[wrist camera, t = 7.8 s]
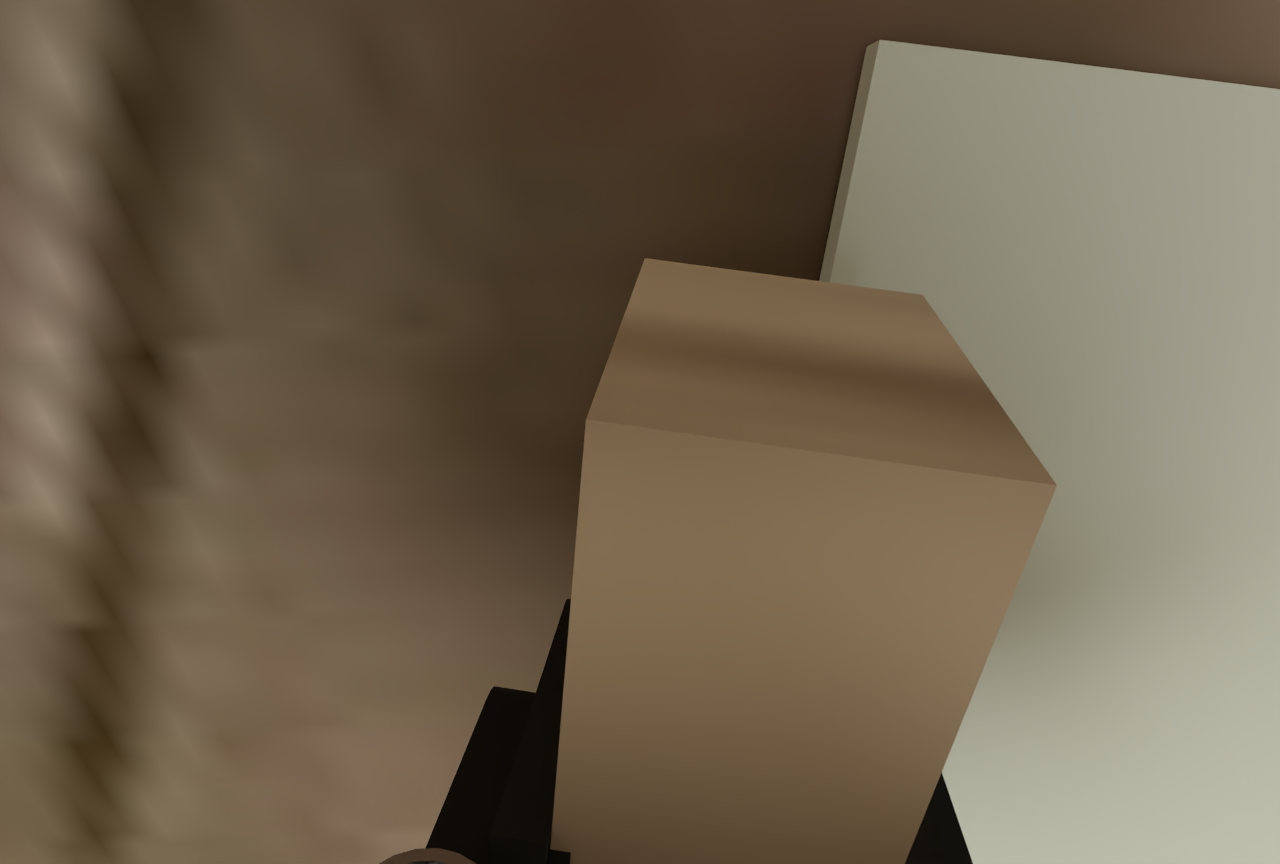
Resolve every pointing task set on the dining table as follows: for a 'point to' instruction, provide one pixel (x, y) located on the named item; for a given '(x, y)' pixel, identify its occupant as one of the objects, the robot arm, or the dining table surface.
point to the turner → (781, 572)
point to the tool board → (1102, 431)
